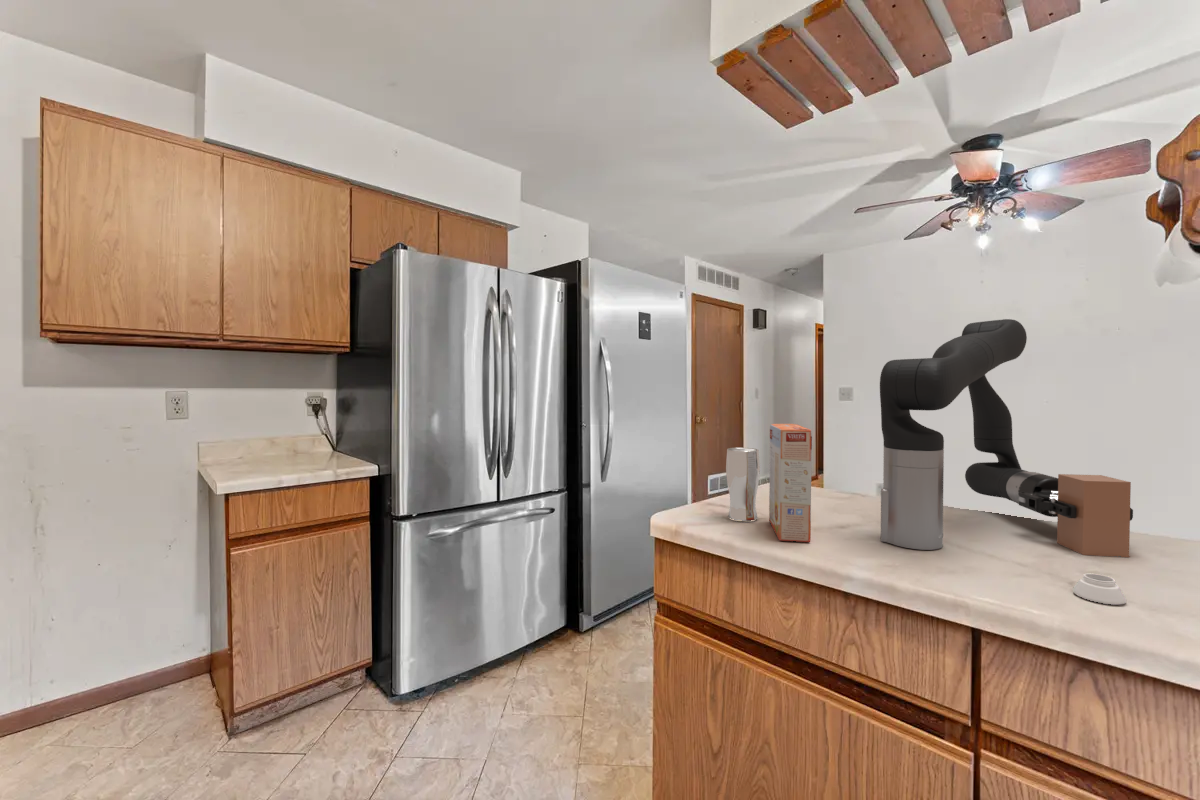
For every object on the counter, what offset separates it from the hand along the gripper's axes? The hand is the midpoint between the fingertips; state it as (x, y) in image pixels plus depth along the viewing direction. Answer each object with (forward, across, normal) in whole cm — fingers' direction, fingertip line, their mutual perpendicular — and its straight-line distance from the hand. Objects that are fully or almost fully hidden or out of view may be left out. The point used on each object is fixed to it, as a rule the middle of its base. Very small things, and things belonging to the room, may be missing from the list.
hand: (1101, 513), depth 84 cm
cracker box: (-4, -49, +7) cm, 49 cm away
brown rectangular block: (-2, 0, +7) cm, 7 cm away
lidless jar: (+20, -13, +7) cm, 25 cm away
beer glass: (-12, -57, +7) cm, 59 cm away
